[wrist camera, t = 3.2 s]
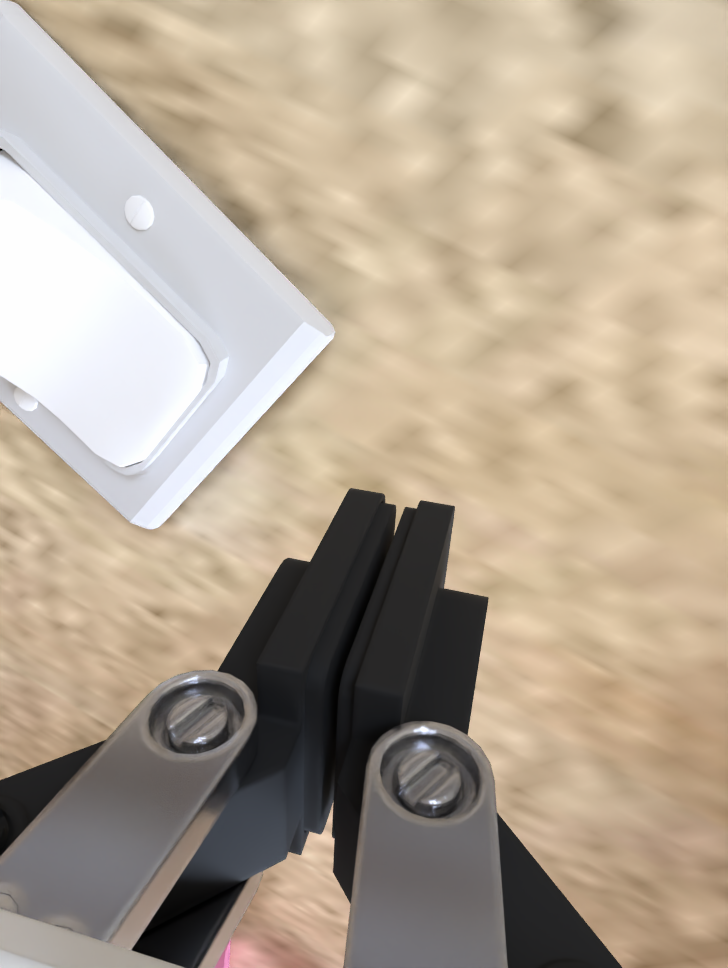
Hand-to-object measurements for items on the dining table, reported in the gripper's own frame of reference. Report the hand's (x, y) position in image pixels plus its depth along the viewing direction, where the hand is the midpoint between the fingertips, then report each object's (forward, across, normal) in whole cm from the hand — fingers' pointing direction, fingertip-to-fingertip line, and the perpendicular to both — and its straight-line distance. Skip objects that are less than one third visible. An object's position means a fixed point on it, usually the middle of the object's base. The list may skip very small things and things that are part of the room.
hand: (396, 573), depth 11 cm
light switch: (+12, +12, 0) cm, 17 cm away
